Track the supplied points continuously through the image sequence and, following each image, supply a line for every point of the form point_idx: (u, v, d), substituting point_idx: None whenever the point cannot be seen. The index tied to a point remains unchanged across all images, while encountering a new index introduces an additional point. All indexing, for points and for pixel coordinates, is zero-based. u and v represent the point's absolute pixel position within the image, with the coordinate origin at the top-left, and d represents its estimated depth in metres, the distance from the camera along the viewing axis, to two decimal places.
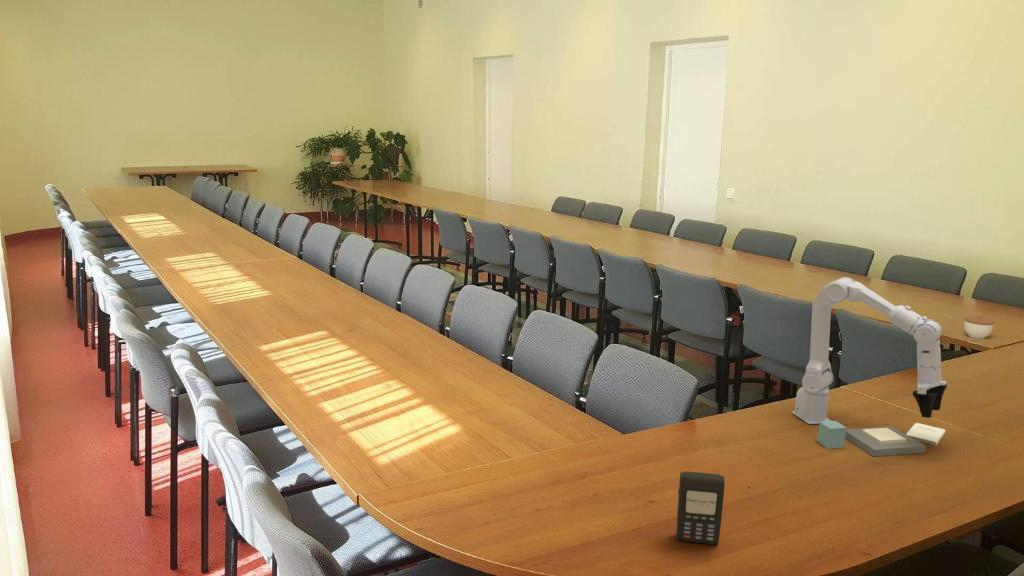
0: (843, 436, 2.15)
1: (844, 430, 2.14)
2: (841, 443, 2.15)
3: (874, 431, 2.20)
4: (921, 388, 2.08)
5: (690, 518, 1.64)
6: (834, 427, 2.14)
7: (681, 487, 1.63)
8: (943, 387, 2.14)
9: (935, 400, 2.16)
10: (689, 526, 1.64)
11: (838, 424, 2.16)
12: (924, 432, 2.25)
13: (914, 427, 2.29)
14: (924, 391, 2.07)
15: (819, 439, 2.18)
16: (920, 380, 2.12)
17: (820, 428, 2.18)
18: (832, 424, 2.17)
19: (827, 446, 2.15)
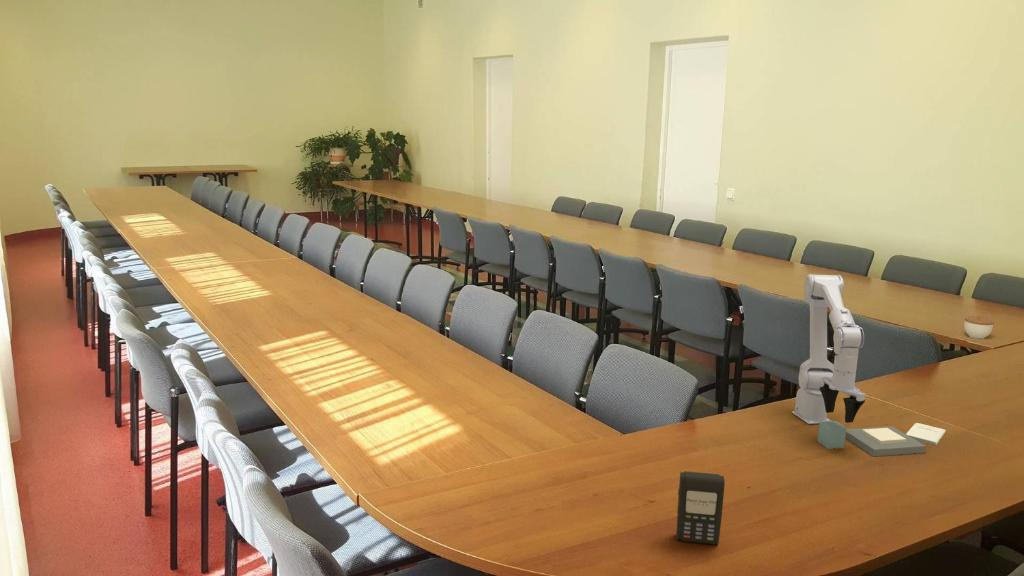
0: (843, 436, 2.15)
1: (844, 430, 2.14)
2: (841, 443, 2.15)
3: (874, 431, 2.20)
4: None
5: (690, 518, 1.64)
6: (834, 427, 2.14)
7: (681, 487, 1.63)
8: None
9: None
10: (689, 526, 1.64)
11: (838, 424, 2.16)
12: (924, 432, 2.25)
13: (914, 427, 2.29)
14: None
15: (819, 439, 2.18)
16: None
17: (820, 428, 2.18)
18: (832, 424, 2.17)
19: (827, 446, 2.15)
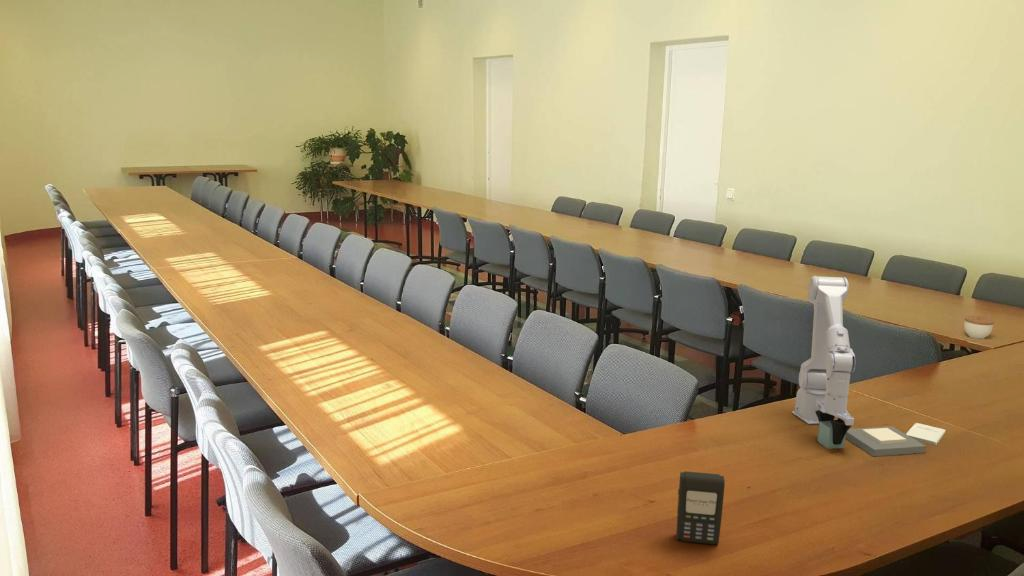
0: None
1: None
2: (841, 443, 2.15)
3: (874, 431, 2.20)
4: None
5: (690, 518, 1.64)
6: None
7: (681, 487, 1.63)
8: None
9: None
10: (689, 526, 1.64)
11: None
12: (923, 432, 2.25)
13: (914, 427, 2.29)
14: None
15: (819, 439, 2.18)
16: None
17: (820, 428, 2.18)
18: None
19: (827, 446, 2.15)
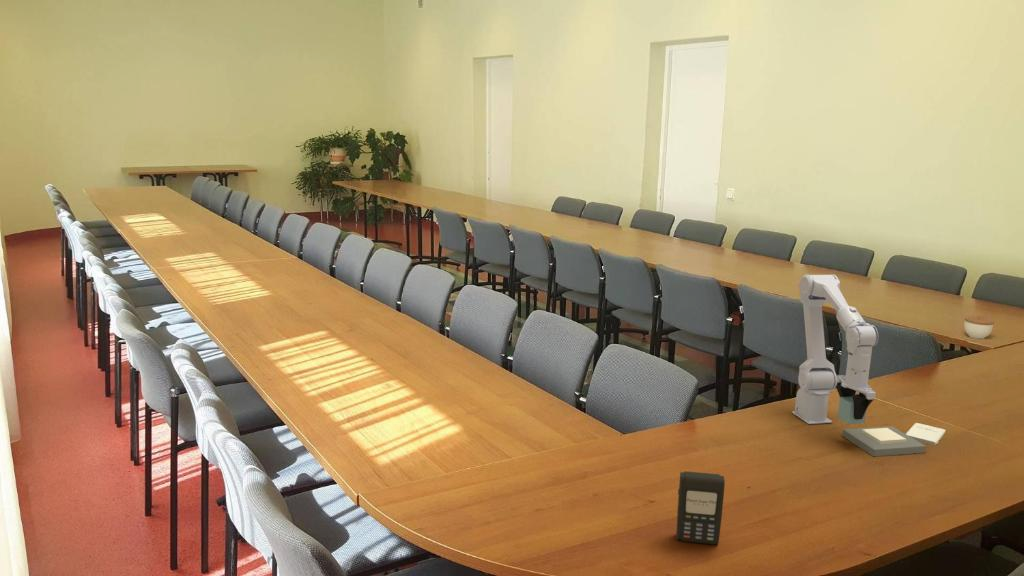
0: None
1: None
2: (862, 418, 2.14)
3: (874, 431, 2.20)
4: None
5: (690, 518, 1.64)
6: None
7: (681, 487, 1.63)
8: None
9: None
10: (689, 526, 1.64)
11: None
12: (923, 432, 2.25)
13: (914, 427, 2.29)
14: None
15: (839, 414, 2.17)
16: None
17: (840, 403, 2.16)
18: (852, 399, 2.15)
19: (847, 421, 2.13)
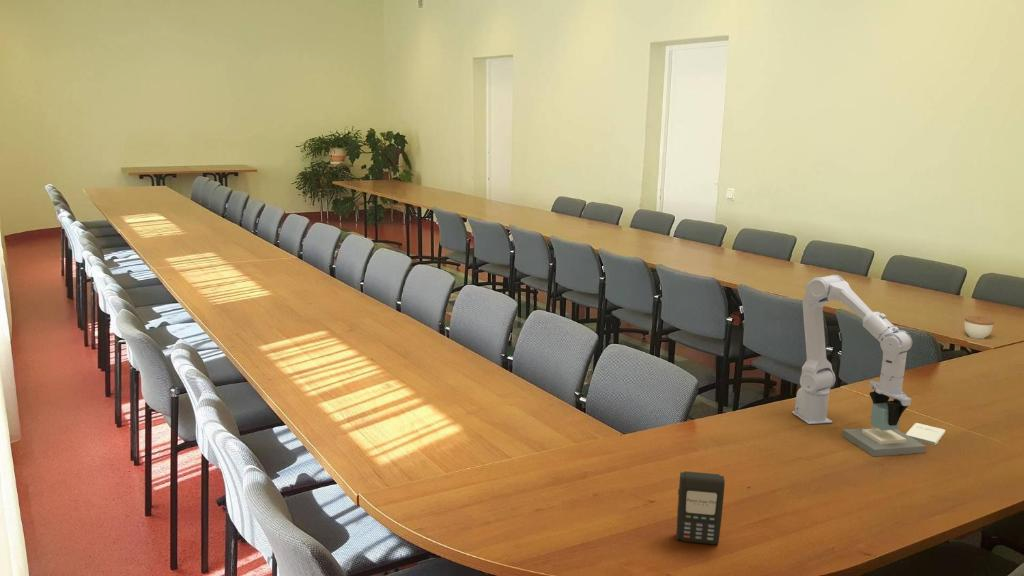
0: None
1: None
2: None
3: (874, 431, 2.20)
4: None
5: (690, 518, 1.64)
6: None
7: (681, 487, 1.63)
8: None
9: None
10: (689, 526, 1.64)
11: None
12: (923, 432, 2.25)
13: (914, 427, 2.29)
14: None
15: (872, 421, 2.18)
16: None
17: (873, 410, 2.18)
18: (885, 405, 2.16)
19: (881, 428, 2.15)
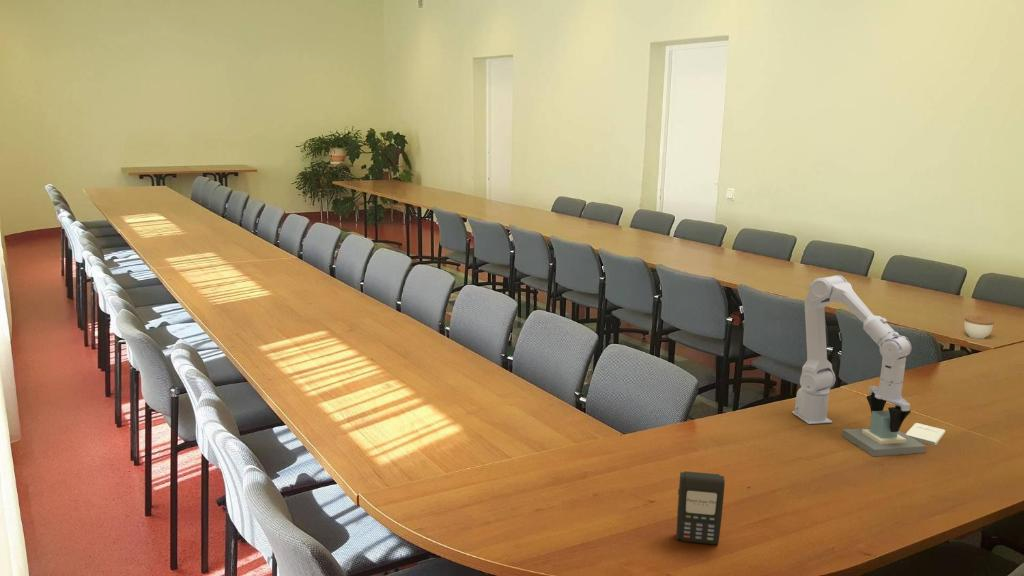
0: None
1: None
2: (894, 432, 2.15)
3: None
4: None
5: (690, 518, 1.64)
6: (887, 417, 2.14)
7: (681, 487, 1.63)
8: None
9: None
10: (689, 526, 1.64)
11: None
12: (923, 432, 2.25)
13: (914, 427, 2.29)
14: None
15: (871, 428, 2.19)
16: None
17: (872, 417, 2.18)
18: (884, 413, 2.17)
19: (880, 435, 2.15)
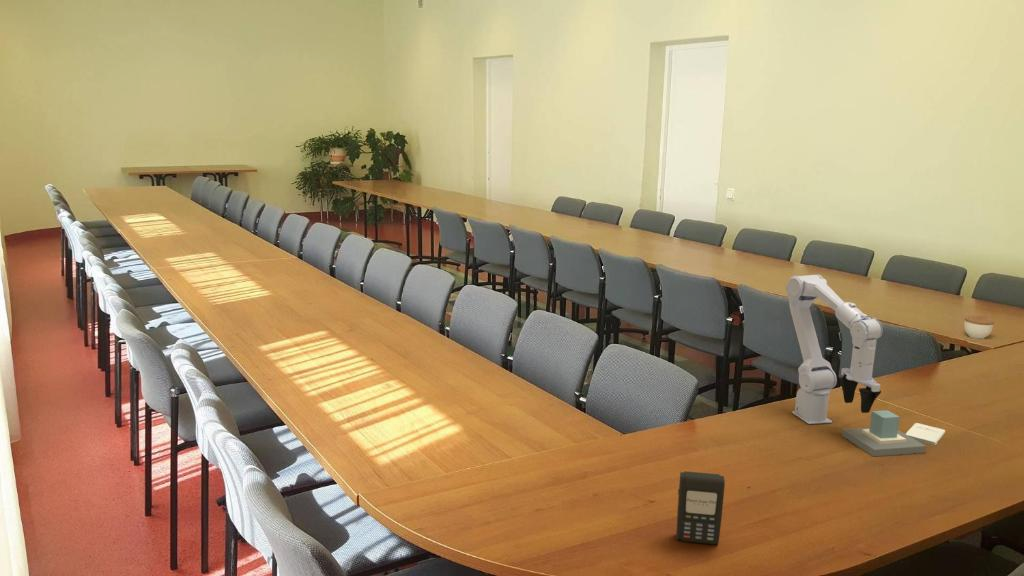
0: (896, 425, 2.15)
1: (898, 419, 2.15)
2: (894, 432, 2.15)
3: None
4: None
5: (690, 518, 1.64)
6: (887, 417, 2.14)
7: (681, 487, 1.63)
8: None
9: None
10: (689, 526, 1.64)
11: (891, 413, 2.17)
12: (923, 432, 2.25)
13: (914, 427, 2.29)
14: None
15: (871, 428, 2.19)
16: None
17: (872, 417, 2.18)
18: (884, 413, 2.17)
19: (880, 435, 2.15)
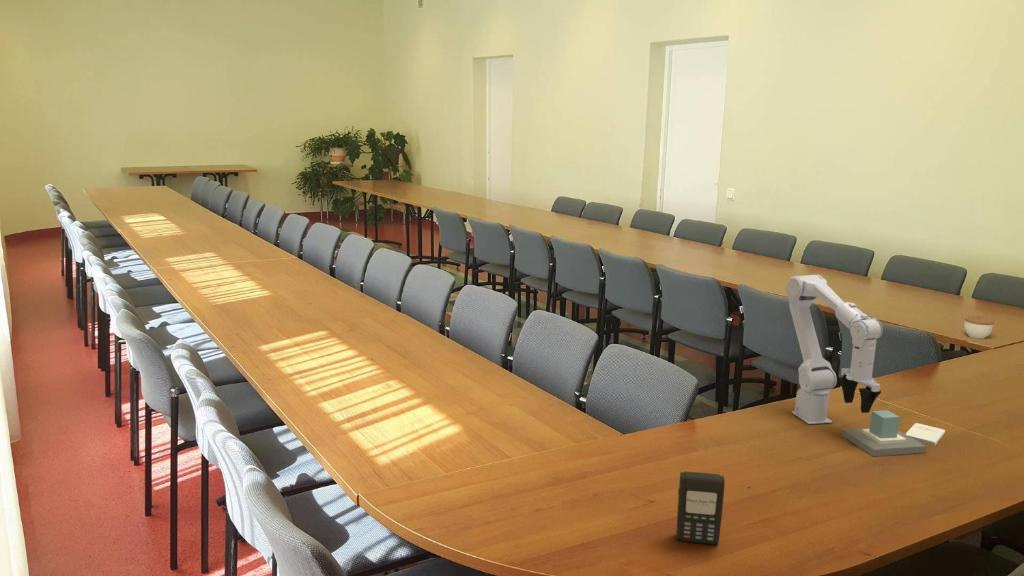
0: (896, 425, 2.15)
1: (898, 419, 2.15)
2: (894, 432, 2.15)
3: None
4: None
5: (690, 518, 1.64)
6: (887, 417, 2.14)
7: (681, 487, 1.63)
8: None
9: None
10: (689, 526, 1.64)
11: (891, 413, 2.17)
12: (923, 432, 2.25)
13: (914, 427, 2.29)
14: None
15: (871, 428, 2.19)
16: None
17: (872, 417, 2.18)
18: (884, 413, 2.17)
19: (880, 435, 2.15)
